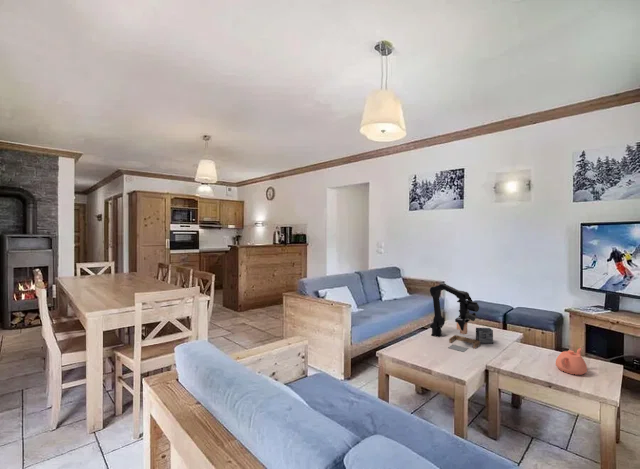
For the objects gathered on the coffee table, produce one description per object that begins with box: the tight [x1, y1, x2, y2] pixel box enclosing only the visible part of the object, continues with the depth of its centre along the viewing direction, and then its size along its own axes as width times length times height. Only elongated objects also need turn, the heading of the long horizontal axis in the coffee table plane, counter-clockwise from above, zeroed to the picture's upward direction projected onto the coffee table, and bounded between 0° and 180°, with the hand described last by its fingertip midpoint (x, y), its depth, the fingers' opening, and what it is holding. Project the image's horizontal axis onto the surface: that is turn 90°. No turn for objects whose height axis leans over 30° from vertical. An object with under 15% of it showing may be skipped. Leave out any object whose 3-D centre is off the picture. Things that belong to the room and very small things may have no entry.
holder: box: [448, 334, 481, 349], centre depth 241 cm, size 18×11×3 cm, turn 47°
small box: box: [475, 327, 494, 345], centre depth 244 cm, size 11×6×10 cm, turn 84°
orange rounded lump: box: [555, 347, 588, 376], centre depth 195 cm, size 22×15×12 cm
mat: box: [448, 344, 469, 353], centre depth 232 cm, size 11×9×1 cm
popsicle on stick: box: [456, 322, 468, 335], centre depth 240 cm, size 5×8×8 cm, turn 47°
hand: (463, 329), depth 239 cm, fingers closed on popsicle on stick, 5 cm apart
